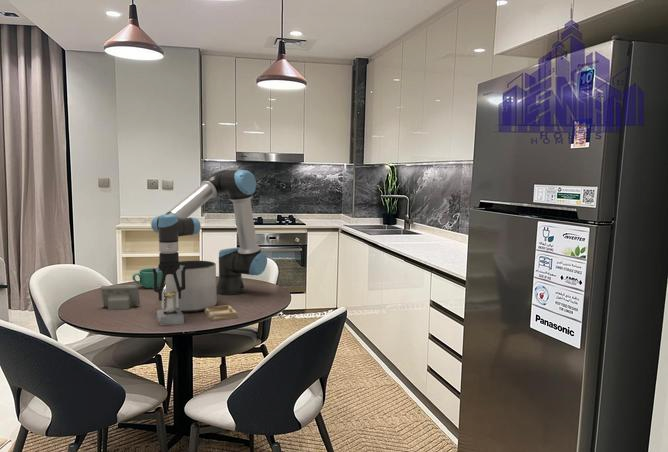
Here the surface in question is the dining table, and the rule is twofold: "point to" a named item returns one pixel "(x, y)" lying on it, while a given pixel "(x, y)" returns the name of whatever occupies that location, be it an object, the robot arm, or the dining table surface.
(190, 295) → the planter
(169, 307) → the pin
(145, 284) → the mug
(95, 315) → the dining table surface
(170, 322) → the block
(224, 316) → the tray
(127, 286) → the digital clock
